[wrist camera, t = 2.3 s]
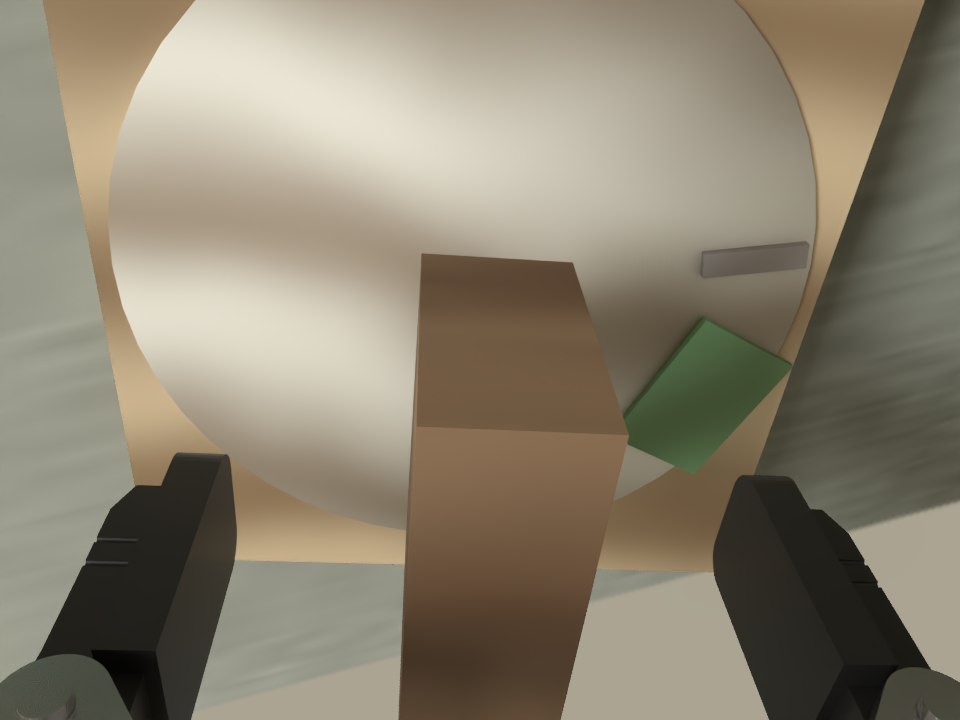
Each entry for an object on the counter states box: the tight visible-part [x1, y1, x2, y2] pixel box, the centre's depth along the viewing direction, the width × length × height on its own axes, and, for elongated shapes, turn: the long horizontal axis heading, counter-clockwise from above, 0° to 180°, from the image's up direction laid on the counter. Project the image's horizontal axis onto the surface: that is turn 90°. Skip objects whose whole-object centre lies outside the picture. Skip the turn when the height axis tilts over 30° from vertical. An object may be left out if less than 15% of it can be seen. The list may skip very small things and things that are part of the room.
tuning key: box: [399, 253, 629, 720], centre depth 16 cm, size 11×2×9 cm, turn 175°
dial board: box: [43, 0, 925, 572], centre depth 20 cm, size 19×17×4 cm
